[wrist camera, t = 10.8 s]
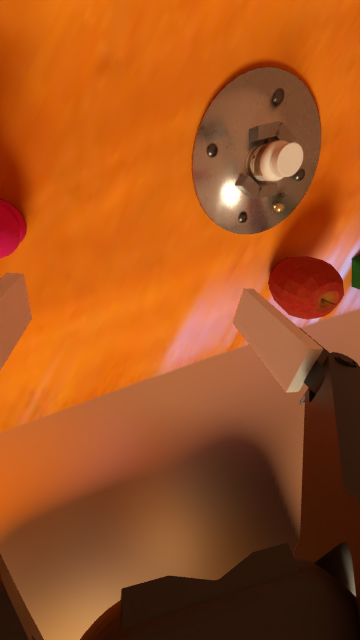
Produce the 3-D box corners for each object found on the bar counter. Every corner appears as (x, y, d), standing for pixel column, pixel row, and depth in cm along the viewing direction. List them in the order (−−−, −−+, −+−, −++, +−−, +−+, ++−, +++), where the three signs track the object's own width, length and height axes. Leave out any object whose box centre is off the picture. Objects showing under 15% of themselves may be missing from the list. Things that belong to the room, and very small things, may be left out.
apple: (261, 250, 42) (313, 277, 31) (309, 244, 44) (377, 268, 32) (254, 300, 48) (296, 339, 36) (297, 293, 49) (352, 329, 38)
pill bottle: (250, 141, 32) (282, 132, 26) (276, 149, 34) (313, 142, 27) (240, 177, 35) (267, 177, 28) (265, 183, 36) (297, 185, 29)
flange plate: (211, 43, 27) (222, 27, 24) (341, 97, 33) (362, 89, 30) (180, 222, 37) (185, 226, 34) (284, 241, 42) (296, 245, 39)
